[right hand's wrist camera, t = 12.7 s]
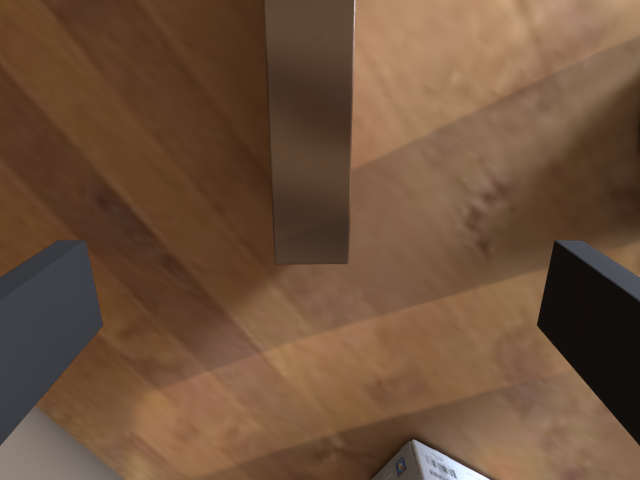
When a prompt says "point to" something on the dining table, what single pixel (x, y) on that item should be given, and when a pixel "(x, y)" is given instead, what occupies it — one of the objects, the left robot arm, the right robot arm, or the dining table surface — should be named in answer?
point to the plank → (310, 127)
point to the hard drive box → (424, 466)
